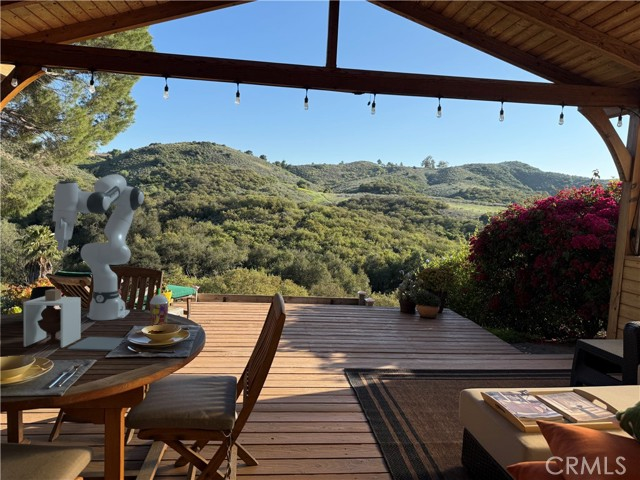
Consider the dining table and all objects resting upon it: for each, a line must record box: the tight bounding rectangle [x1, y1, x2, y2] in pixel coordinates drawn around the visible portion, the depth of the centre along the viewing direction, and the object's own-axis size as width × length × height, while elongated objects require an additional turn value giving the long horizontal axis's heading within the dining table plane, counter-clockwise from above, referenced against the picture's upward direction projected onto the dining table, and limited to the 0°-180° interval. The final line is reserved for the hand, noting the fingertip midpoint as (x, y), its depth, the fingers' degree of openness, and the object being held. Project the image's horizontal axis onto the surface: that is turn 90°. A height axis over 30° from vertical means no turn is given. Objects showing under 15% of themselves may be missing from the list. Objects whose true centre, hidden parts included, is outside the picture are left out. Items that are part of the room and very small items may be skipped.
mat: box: [66, 336, 125, 352], centre depth 176 cm, size 16×18×1 cm
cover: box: [23, 288, 82, 349], centre depth 177 cm, size 13×16×22 cm
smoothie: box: [149, 288, 170, 327], centre depth 199 cm, size 8×8×20 cm
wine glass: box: [29, 285, 57, 335], centre depth 192 cm, size 10×10×20 cm
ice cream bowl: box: [38, 306, 61, 345], centre depth 177 cm, size 11×11×15 cm
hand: (62, 250), depth 181 cm, fingers open, 8 cm apart
